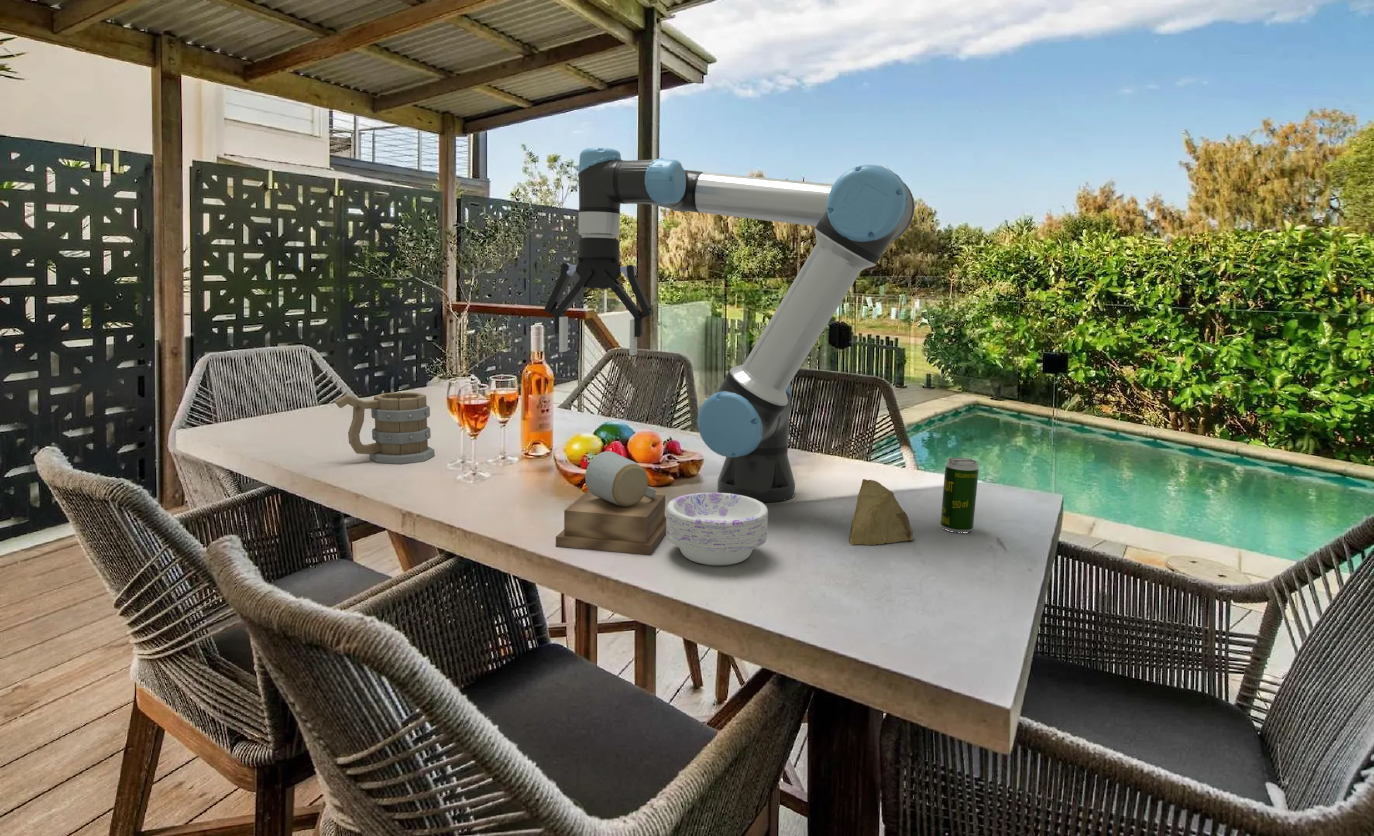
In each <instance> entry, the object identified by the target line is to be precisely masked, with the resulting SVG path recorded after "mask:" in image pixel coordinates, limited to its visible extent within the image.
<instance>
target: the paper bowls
mask: <svg viewBox="0 0 1374 836" xmlns="http://www.w3.org/2000/svg"><path fill="white" fill-rule="evenodd" d="M665 515H666V516H665V517H666V534H665V536H666V539H667V540H668V541H669V543H671V544H672V545H674V546H676V547H678V548H679V550H680V552H681V554H682V555H683V557H685V558H686V559H688V560H689V561H692V562H694V563H698V564H702V565H707V566H731V565H735V564H738V563H739V564H740V563H741V562H743V561H745V560H747V559H748V558H749V557H750V556H751V554H752V553H753V550H754V549H757V548H759V547H761V546H763V545H764V544H765V543H766V541H767V539H768V523H769V509H768V507H767V505H766V504H764V502H760V501H758V500H756V499H753V498H750V497H746V496H742V495H737V494H730V493H719V492H697V493H689V494H685V495H680V496H678V497H675V498H673V499H671V500H670V501H669V502H668V503H667V505H666V506H665Z"/></svg>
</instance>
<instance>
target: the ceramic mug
mask: <svg viewBox="0 0 1374 836" xmlns="http://www.w3.org/2000/svg"><path fill="white" fill-rule="evenodd" d="M584 480H585V485H586V487H587V491H590V492H591V493H592V494H593V495H594V496H596V497H599V498H601V499H604V500H606V501H609V502H611V503H614V504H616V505H619V506H625V507H627V506H632V505H635V504H637V503H638V502H639V501H640V500H641V499H642V498H643V497H644V496H646V497H649V498H654V496H655V494H656V493H657V490H656V489H655V488H653V487H651V486H649V477H648V473H647V471H646V470H645V468H643V466H642V465H640V464H639V463H637V462H635V461H633V460H631V459H629V458H626V457H625V456H622V455H620V454H618V453H617V452H614V451H609V450H607V451H606V450H605V451H602V452H600V453H598V454H596V455H595V456H594V457H592V459H591V460H590V462H589V463H588V465H587V468H586V471H585V476H584Z"/></svg>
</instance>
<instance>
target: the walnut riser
mask: <svg viewBox="0 0 1374 836" xmlns="http://www.w3.org/2000/svg"><path fill="white" fill-rule="evenodd" d="M563 510H564V511H563V513H564V514H563V515H564V516H563V518H564V520H563V523H564V525H563V527H564V528H563V530H562V531H561V532H559V533H558V534H557V535H556V536H555V546H556V547H560V548H561V547H563V548H573V549H581V550H582V549H583V550H584V549H585V550H595V551H605V552H613V553H614V552H615V553H616V552H617V553H626V554H638V555H639V554H640V555H646V556H647V555H649V556H651V555H652V554H653V553H654V552H655V550H656V548H657V547H658V545H659V544H660V542H662V540H663V539H664V537H665V536H666V516H665V515H666V494H656V493H655V496H654V498H649V497H646V496H644V497H643V498H642V499H641V500H640V501H639V502H638V503H637V504H635V505H632V506H627V507H625V506H619V505H616V504H614V503H611V502H609V501H606V500H604V499H601V498H599V497H596V496H594V495H593V494H592V493H591V492H590V491H589V490H587V491H586V492H585V493H583V494H582V495H581V496H580V497H578V498H577V499H576V500H575V501H574V502H573V503H571V504H570V505H569V506H568V507H566V508H565V509H563Z"/></svg>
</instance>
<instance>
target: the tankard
mask: <svg viewBox="0 0 1374 836" xmlns="http://www.w3.org/2000/svg"><path fill="white" fill-rule="evenodd" d="M334 402H335V404H336V406H337V407H338V408H340V409H343V408H344V407H345V406H347V405H349V406H351V407H352V420H351V423H350V426H349V429H348V432H347V434H348V435H347V436H348V437H347V438H348V443H349V445H350V447H351V448H352V450H353V451H354V453H355V454H357V455H369V459H370V460H372V459H373V461H374V462H376V463H377V464H389V465H390V464H391V465H406V464H415V463H423V461H424V462H426V461H428V460H429V458H430V459H431V457H432V458H434V456H435V454H436V453H435V448H433V447H430V446H429V444H428V442H429V439H431V437H432V436H431V435H432V433H431V428H430V427H429V426H428V418H430V417H431V409H430V408H431V407H430V406H429V405H428V404H427V395H426V394H423V393H420V392H408V391H407V392H406V391H403V392H401V391H400V392H384V393H380V394H377V395H374V396H373V400H362V399H359V398H355V397H352V396H350V395H348V394H344V395H343V396H342V397H340V398H338V399H336V400H335V401H334ZM366 410H370V413H371V418H372V419H374V428H372V429H371V435H372V437H371V438H372V439H371V440H373V441H375V442H373V443H369V444H363V443H362V441H361V438H360V434H361V431H362V428H363V425H364V422H365V411H366Z"/></svg>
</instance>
